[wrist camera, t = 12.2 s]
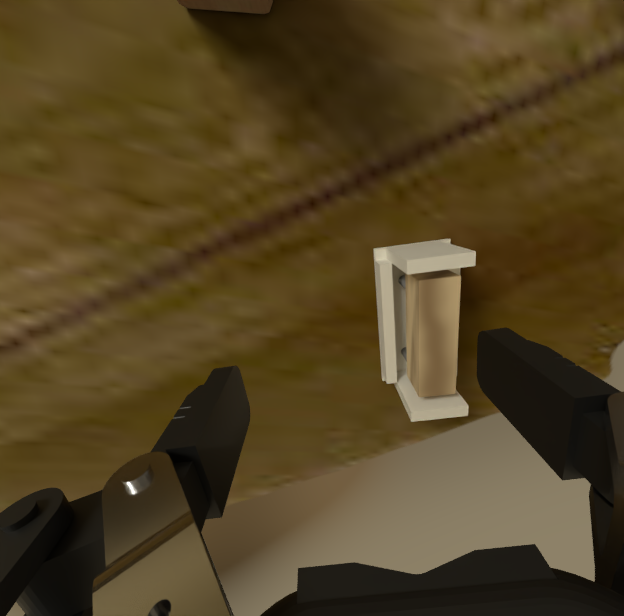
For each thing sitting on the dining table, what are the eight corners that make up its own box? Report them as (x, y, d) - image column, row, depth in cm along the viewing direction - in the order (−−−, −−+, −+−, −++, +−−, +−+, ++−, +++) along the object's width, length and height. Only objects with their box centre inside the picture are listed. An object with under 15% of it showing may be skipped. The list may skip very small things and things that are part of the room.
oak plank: (442, 266, 37) (461, 276, 32) (439, 372, 42) (455, 393, 37) (405, 271, 37) (418, 280, 32) (406, 375, 42) (418, 397, 37)
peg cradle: (448, 238, 40) (490, 249, 30) (446, 371, 46) (480, 414, 37) (373, 248, 40) (392, 262, 31) (381, 378, 47) (399, 423, 37)
